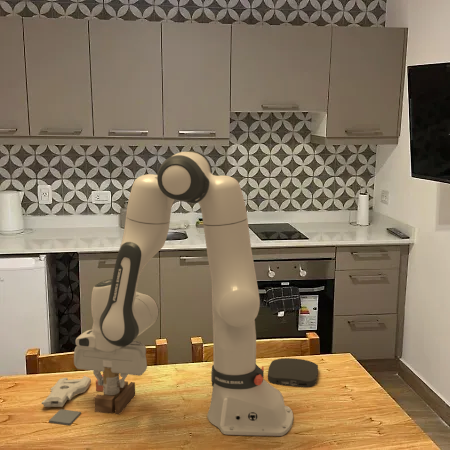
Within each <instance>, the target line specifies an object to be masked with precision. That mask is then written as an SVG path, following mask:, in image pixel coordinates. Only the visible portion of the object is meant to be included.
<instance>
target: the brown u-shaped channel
mask: <svg viewBox="0 0 450 450" xmlns="http://www.w3.org/2000/svg"><path fill="white" fill-rule="evenodd" d="M119 389H120V391H119V396H118V397H117V398H116V399H115V396H107V395H104V394H99V393H98V394H97V395H95V396H94V397H93V400H94V401H93V402H94V412H96V413H104V414H110V415H113V413H114V415H117V416H119V415H121V413H122V412H123V411H124V410H125V409H126V407H127V406H128V405H129V404H130V402H131V401H132V400H133V399H134V398H135V397H136V382H134V381H130V382H129V381H127V380H125V385H124V387H123V388H119ZM134 396H135V397H134Z"/></svg>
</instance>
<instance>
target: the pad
mask: <svg viewBox="0 0 450 450" xmlns="http://www.w3.org/2000/svg"><path fill="white" fill-rule="evenodd" d="M81 415H82V411H78V410H71V409H64V408H63V409H62V408H61V409H58V411H57V412H56V413H55V414H54V415H53V416H51V418H50V419H49V420H48V423H50V424H55V425H63V426H71V425H72V424H74V422H75V421H76V420H77V418H79V417H80V416H81Z"/></svg>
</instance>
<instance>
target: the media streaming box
mask: <svg viewBox="0 0 450 450" xmlns="http://www.w3.org/2000/svg"><path fill="white" fill-rule="evenodd" d="M318 373H319V365H318V364H317V363H315V362H313V361H310V360H307V359H302V358H293V357H292V358H290V357H289V358H288V357H284V358H277V359H274V360H272V361H271V362H270V364H269V367H268V370H267V382H268V383H271V384H273V385H279V386H287V387H297V388H312V387H314V386H315V385H316V384H317V381H318V375H319V374H318Z"/></svg>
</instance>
